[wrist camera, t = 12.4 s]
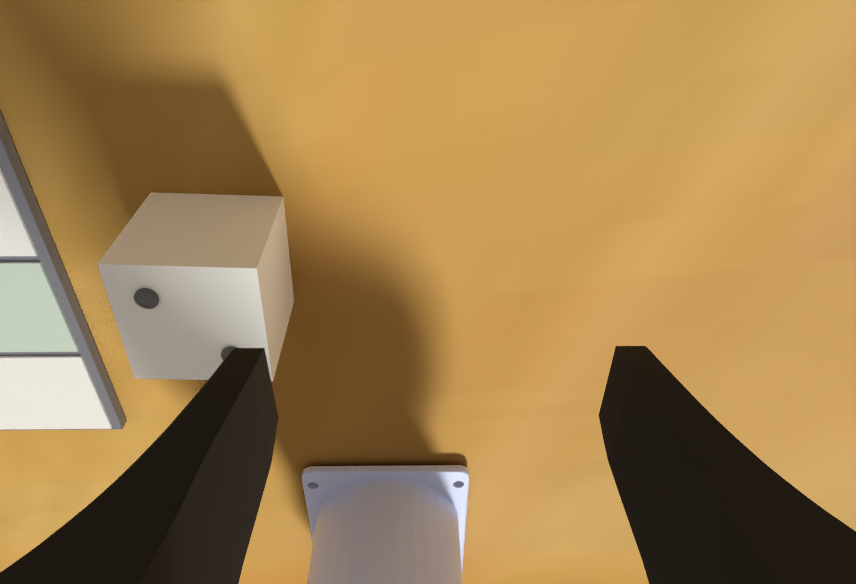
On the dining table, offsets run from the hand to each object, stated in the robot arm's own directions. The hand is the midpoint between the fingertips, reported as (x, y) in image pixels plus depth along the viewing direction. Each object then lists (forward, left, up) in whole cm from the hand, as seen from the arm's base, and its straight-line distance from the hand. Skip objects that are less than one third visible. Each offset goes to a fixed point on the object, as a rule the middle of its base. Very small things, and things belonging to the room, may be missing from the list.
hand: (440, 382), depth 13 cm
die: (-3, +7, -10) cm, 13 cm away
